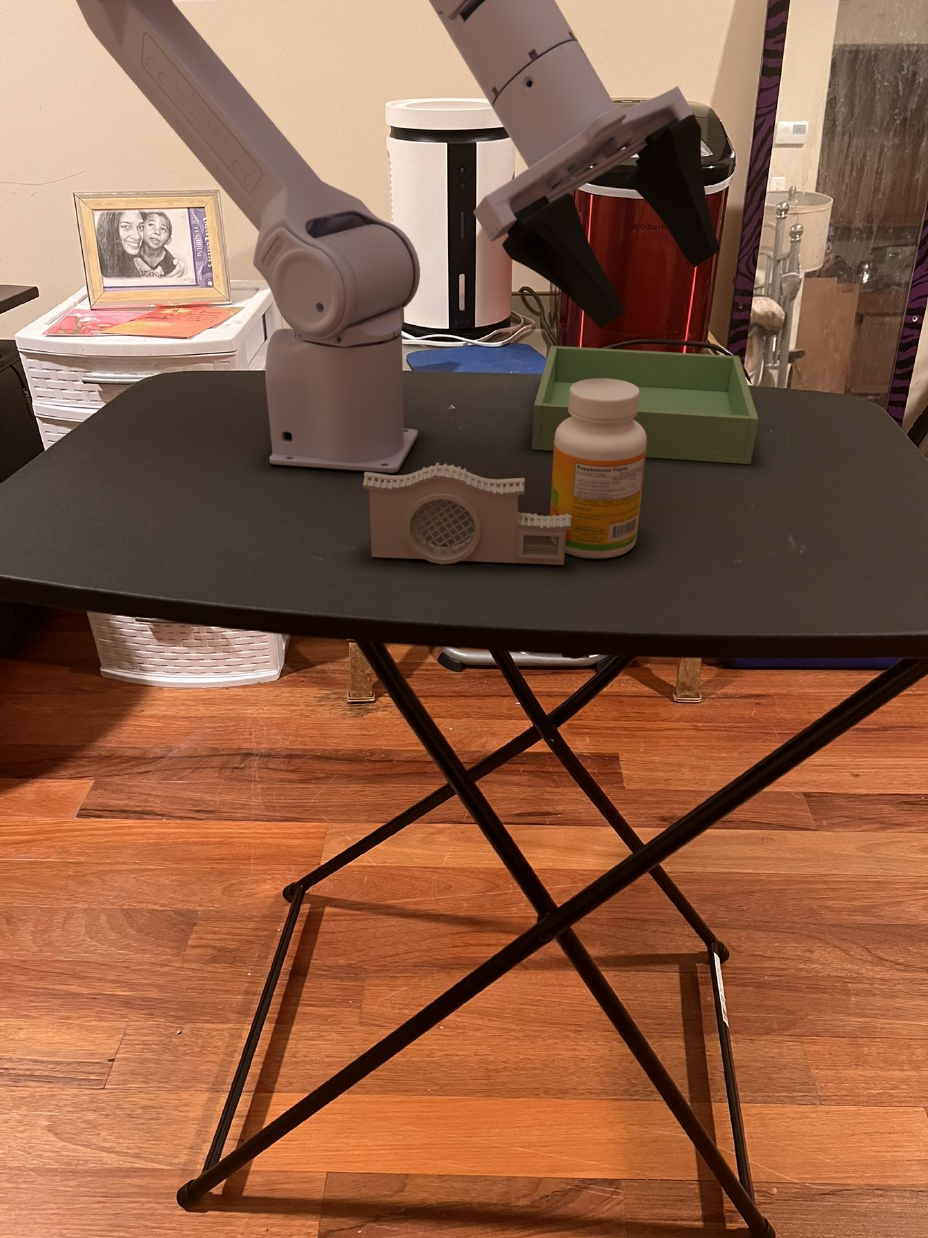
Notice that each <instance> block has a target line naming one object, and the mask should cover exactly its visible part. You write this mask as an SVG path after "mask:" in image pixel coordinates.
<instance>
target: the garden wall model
mask: <svg viewBox="0 0 928 1238" xmlns="http://www.w3.org/2000/svg"><path fill="white" fill-rule="evenodd" d="M363 472H364V473H363V482H362V489H367V490H368V498H369V500H368V502H369V522H370V524H369V525H370V546H371V547H370V548H371V549H370V550H371V557H372V558H389V559H411V560H412V559H414V560H425V561H427V562H430V563H434V564H438V565H451V564H456V563H459V562H480V563H481V562H482V563H484V562H485V563H507V564H533V565H558V566H564V565H565V554H566V553H565V541H566V529H570V528H571V515H568V513H566V514H565V515H562V514H560V515H559V516H555V515H553V516H550V514H548V515H546V516H545V515H543V514H541V515H538V514H537V513H533V514H532V513H530V512H528V513H526V512H519V510H518V509H519V495H525V480H526V478H524V477H516V478H515V477H514V478H503V479H502V478H499V479H496V478H495V479H494V478H485V477H482V476H479V475H478V474H477V475H476V474H474V473H472V472H469V471H467V468H463V469H462V467H461V466H455V464H451V465H448V464H447V463H444V464H443V465H442V464H441V465H440V462H436V463H435V465H430V466H428V467H425V466H423V467H422V469H420V470H417V471H415V472H411V473H408V474H401V475H390V474H383V473H379V472H371V471H363ZM440 500H441V501H440ZM449 501H450V502H451V503H450V502H449ZM433 502H435V503H436V504H435V505H433V504H432V503H433ZM443 503H445V504H446V506H445V507H443V506H442V504H443ZM454 505H456V507H454V508H453V506H454ZM426 506H429V507H430V508H429V509H427V510H426V509H425V507H426ZM437 507H439V508H440V510H439V511H437V510H436V508H437ZM447 509H449V511H448V512H446V510H447ZM458 509H459V510H460V512H459V513H458V514H457V513H456V512H455V511H457V510H458ZM420 510H422V511H423V512H422V513H420V514H419V513H418V512H419V511H420ZM431 511H432V512H433V513H434V514H433V515H432V514H431V516H430V515H429V512H431ZM467 512H468V514H469V515H467V514H466V513H467ZM441 513H443V515H442V516H440V514H441ZM451 514H453V515H454V516H453V517H451V518H450V516H449V515H451ZM414 515H416V517H415V518H414V517H413V516H414ZM462 515H463V516H464V518H463V519H460V516H462ZM423 516H427V518H426V519H424V520H423V519H422V517H423ZM435 517H437V519H436V520H434V519H433V518H435ZM445 518H446V519H447V520H446V521H444V520H443V519H445ZM470 519H472V520H473V522H472V521H471V520H470ZM417 520H419V521H420V523H418V524H417V525H416V523H415V521H417ZM454 520H457V523H454V522H453V521H454ZM428 521H430V522H431V523H429V524H428V525H427V524H426V523H427V522H428ZM466 521H467V522H468V523H469V524H467V526H465V524H464V522H466ZM438 522H440V523H441V524H440V525H439V526H437V524H436V523H438ZM449 523H450V524H451V527H449V528H448V526H447V525H448V524H449ZM422 525H423V526H424V527H422V528H421V529H419V527H421V526H422ZM431 526H433V527H434V529H432V530H430V528H431ZM458 526H461V527H462V528H461V529H460V530H459V529H458V528H457V527H458ZM443 527H444V529H445V530H444V531H443V532H442V531H441V530H440V529H441V528H443ZM469 528H472V529H473V531H471V532H469V531H468V529H469ZM453 529H454V530H455V531H456V532H455V533H454V534H453V533H452V532H451V531H452V530H453ZM425 530H426V531H427V533H426V534H425V535H423V533H422V532H424V531H425ZM435 532H437V533H438V535H436V536H435V535H434V533H435ZM463 532H465V533H466V535H465V536H463V535H462V533H463ZM447 533H448V534H449V537H447V538H446V536H444V535H445V534H447ZM428 536H430V537H431V539H429V540H427V539H426V538H427V537H428ZM457 536H459V537H460V539H458V540H457V539H456V537H457ZM551 536H552V537H554V536H555V537H557V539H555V537H554V539H553V538H552V537H551ZM440 537H441V538H442V539H443V540H442V541H441V542H439V541H438V540H437V539H438V538H440ZM467 538H468V539H467ZM550 538H551V539H550ZM450 540H453V541H454V543H452V544H450V543H449V541H450ZM552 540H556V542H555V541H552ZM462 541H463V542H462ZM433 542H435V544H436V545H435V544H433ZM461 542H462V543H461ZM553 542H554V543H555V544H553ZM445 543H446V545H447V546H442V545H444V544H445Z"/></svg>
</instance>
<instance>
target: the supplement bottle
mask: <svg viewBox="0 0 928 1238" xmlns="http://www.w3.org/2000/svg"><path fill="white" fill-rule="evenodd" d="M639 394H640V391H639V389H638V387H637V386H635V385H634V384H632V383H629V382H626V381H622V380H616V379H607V378H596V379H586V380H581V381H578V382H576V383H574V384H573V385H571V387H570V391H569V408H568V411H569V413H570V415H572V417H570V418H568V419H566V420H564V421H563V422H562V423H561V424H560V425H559V426H558V428H557V430H556V433H555V440H554V451H553V455H552V457H553V458H552V476H551V491H550V492H551V493H550V514H549V516H553V515H555V516H559V515H560V514H562V515H565V514H566V513H568V515H571V528H570V529H566V541H565V554H567V555H570V556H573V557H576V558H581V559H582V558H583V559H591V560H593V559H594V560H595V559H599V560H600V559H610V558H614V557H619V556H623V555H624V554H626V553H628V552H630V551H631V550H632V549H633V548H634V546H635V545H636V542H637V537H638V531H639V530H638V529H639V521H640V511H641V501H642V490H643V481H644V470H645V463H646V462H645V461H646V457H645V454H646V442H647V438H646V433H645V431H644V429H643V428H642V426H641V425H640V424H639V423H637V422H636V421H634V420H633V418H635V416H636V415H637V411H638V409H639ZM551 537H552V536H551ZM554 537H555V536H554ZM554 537H552V538H553V539H554ZM549 539H551V538H550V537H549ZM555 539H557V537H555ZM552 541H555V542H556V540H552ZM552 544H553V545H554V544H555V543H554V542H553V543H552Z"/></svg>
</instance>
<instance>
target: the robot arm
mask: <svg viewBox="0 0 928 1238" xmlns="http://www.w3.org/2000/svg"><path fill="white" fill-rule="evenodd" d="M75 2H76V4H77V6H78V8H79V10H80V12H81V14H82V16H83V18H84V21H85V23H86V24H87V26H88V28H89V29H90V31H91V33H92V34H93V35H94V37H95V38H96V40H97V41H98V42H99V43H100V45H101V46H102V47H103V48H104V49H105V50H106V52H107V53H108V54H109V55H110V56H111V57H112V58H113V60H114V61H115V62H116V64H117V65H118V66H119V67H120V68H121V69H122V70H123V72H124V73H125V74H126V75H127V76H128V78H129V79H130V80H131V81H132V83H134V85H135V86H136V87H137V88H138V90H139V91H141V93H142V94H143V96H144V97H145V98H146V99H147V101H148V102H149V103H150V104H151V105H152V107H154V109H155V110H156V111H157V112H158V113H159V115H160V116H161V117H162V118H163V119H164V120H165V122H166V123H167V124H168V126H169V127H170V128H171V129H172V130H173V132H174V133H175V134H176V135H177V136H178V138H180V140H181V141H182V142H183V143H184V145H186V147H187V148H188V149H189V150H190V152H191V153H192V154H193V155H194V156H195V157H196V159H197V160H198V161H199V162H200V163H201V165H202V166H203V167H204V168H205V170H206V171H207V172H208V173H209V174H210V175H211V177H213V179H214V180H215V181H216V183H217V184H218V185H219V186H220V187H221V189H222V190H223V191H224V192H225V193H226V194H227V195H228V197H229V198H230V199H231V200H232V201H233V203H234V204H235V205H236V207H238V209H239V210H240V211H241V212H242V214H243V215H244V216H245V217H246V218H247V220H249V222H250V223H251V224H252V226H253V227H254V228H255V229H256V231H258V235H257V239H256V244H255V248H254V254H253V260H252V264H253V266H254V267H255V269H256V270H257V271H258V272H259V273H260V275H261V276H262V277H263V279H264V280H265V282H266V283H267V285H268V287H269V289H270V292H271V293H272V297H273V299H274V302H275V305H276V307H277V310H278V311H279V313H280V315H281V317H282V318H283V320H284V321H285V322H286V324H287V325H288V326H289V328H279V329H276V330H275V331H274V332H273V333H272V335H271V337H270V339H269V341H268V344H267V349H266V353H265V354H266V355H265V367H264V370H265V371H264V372H265V373H264V374H265V375H264V377H265V378H264V379H265V390H266V399H267V409H268V411H267V412H268V419H269V420H268V421H269V430H270V431H269V432H270V442H271V451H272V452H271V455H270V456H269V463H270V464H271V465H276V466H277V465H278V466H291V467H302V468H303V467H305V468H317V469H319V468H320V469H321V468H322V469H333V470H347V471H361V472H371V473H386V474H387V473H388V474H394V473H398V472H399V470H400V469H401V467H402V465H403V463H405V462H404V461H405V460H406V459H407V456H408V455H409V452H410V451H411V449H412V447H413V446H414V443H415V442H416V440H417V438H418V437H419V432H418V430H417V429H414V428H405V413H404V411H405V410H404V407H405V406H404V363H403V358H404V357H403V333H402V331H403V324H405V308H407V306H408V305H410V303H412V301H413V299H414V297H415V296H416V294H417V292H418V289H419V286H420V280H421V266H420V260H419V256H418V252H417V250H416V248H415V245H414V244H413V243H412V241H411V240H410V238H409V237H408V235H407V234H406V233H405V232H404V231H403V230H401V228H399V227H398V226H396V225H394V224H393V223H390V222H388V221H385V220H383V219H381V218H379V217H378V216H376V215H375V214H374V213H373V212H372V211H371V210H370V209H369V207H367V205H366V204H365V203H364V202H363V201H362V199H360V198H358V197H356V196H354V195H352V194H350V193H348V192H346V191H343V190H342V189H339V188H336V186H335V187H334V186H333V185H330V184H329V183H326V182H325V181H323V180H322V179H321V177H319V176H318V174H317V173H316V172H315V171H314V169H313V168H312V167H311V166H310V164H308V162H307V161H306V160H305V159H304V158H303V156H302V155H301V154H300V153H299V152H298V150H297V149H296V148H295V147H294V145H293V144H292V143H291V141H289V139H287V137H286V136H285V134H283V132H282V131H281V130H280V129H279V128H278V126H277V125H276V124H275V122H273V120H272V119H271V118H270V117H269V116H268V114H267V113H266V111H264V110H263V108H262V107H261V106H260V105H259V104H258V103H257V101H256V100H255V99H254V98H253V96H252V95H251V94H250V93H249V92H248V91H247V89H246V88H245V87H244V85H242V83H241V82H240V81H239V80H238V78H237V77H236V76H235V75H234V74H233V73H232V71H231V70H230V69H229V67H227V65H226V64H225V63H224V62H223V60H222V59H221V58H220V57H219V56H218V54H217V53H216V52H215V51H214V49H213V48H212V47H211V46H210V45H209V44H208V42H207V41H206V39H204V38H203V37H202V35H201V34H200V33H199V32H198V30H197V29H196V28H195V27H194V25H192V23H191V22H190V21H189V19H188V18H187V17H186V16H185V15H184V14H183V12H181V10H180V9H179V7H178V6H177V5H176V4H175V2H174V1H173V0H75ZM428 2H429V3H430V6H431V7H432V8H433V10H434V12H435V14H436V16H437V17H438V19H439V21H440V22H441V24H442V25H443V27H444V29H445V30H446V32H447V33H448V36H449V38H450V40H451V41H452V43H453V45H454V46H455V48H456V50H457V51H458V53H459V55H460V57H461V58H462V60H463V61H464V63H465V64H466V66H467V68H468V69H469V72H470V73H471V74H472V76H473V78H474V79H475V81H476V84H478V86H479V88H480V89H481V91H482V93H483V95H484V96H485V98H486V99H487V102H488V103H489V104H490V106H491V108H492V109H493V112H494V113H495V115H496V117H497V118H498V120H499V121H500V123H501V125H502V127H503V128H504V130H505V131H506V132H507V135H508V136H509V138H510V139H511V141H512V143H513V145H514V146H515V148H516V150H517V151H518V153H519V155H520V157H521V158H522V160H523V162H524V163H525V165H526V166H527V169H525V170H523V171H522V172H521V173H519V174H518V175H517V176H515V177H514V178H512V179H510V180H509V181H508V182H506V183H504V184H502V185H501V186H500V187H498V188H496V189H495V190H493V191H492V192H490V193H488V194H487V195H485V196H484V197H483V198H482V199H481V201H480V202H479V204H478V205H477V206H476V207H475V209H474V210H473V215H474V216H475V219H476V220H477V221H478V223H479V225H480V226H481V228H482V229H483V231H484V233H485V234H486V236H487V238H488V239H489V241H490V242H491V243H493V242H494V241H496V240H498V239H499V238H501V237H503V236H504V235H506V234H507V235H508V236H507V237H506V239H505V240H504V241H503V242H502V244H501V246H502V248H503V250H504V251H505V253H506V254H507V255H508V257H509V258H510V259H511V260H512V261H514V262H517V263H519V264H521V266H524V267H526V268H528V269H530V270H531V271H533V272H534V273H537V274H538V275H539V276H541V277H542V278H544V279H545V280H546V281H548V282H550V283H551V284H552V285H553V286H555V287H556V288H557V289H558V290H560V291H561V292H562V293H563V294H564V295H566V296H567V297H568V298H569V299H570V300H571V301H572V302H573V303H574V304H575V305H576V306H578V307H579V308H580V309H581V310H582V311H583V313H585V315H587V317H588V318H590V320H591V321H592V322H593V323H594V324H595V325H596V326H597V327H598V328H599V329H600V330H602V329H603V328H605V327H606V326H608V325H609V324H610V323H612V322H613V321H615V320H616V319H618V318H619V317H620V316H621V315H623V314H624V313H625V310H624V307H623V304H622V302H621V300H620V297H619V295H618V293H617V291H616V290H615V288H614V285H613V284H612V283H611V281H610V279H609V278H608V276H607V274H606V272H605V270H604V269H603V267H602V266H601V264H600V262H599V260H598V259H597V257H596V255H595V252H594V250H593V248H592V246H591V244H590V241H589V239H588V236H587V234H586V232H585V229H584V227H583V223H582V221H581V218H580V215H579V212H578V209H577V205H576V203H575V199H574V195H573V194H571V193H573V192H575V191H576V190H578V189H580V188H581V187H583V186H584V185H586V184H588V183H589V182H590V183H591V181H593V180H595V179H596V178H598V177H600V176H602V175H603V174H605V173H607V172H608V171H610V170H612V169H613V168H615V167H617V166H619V165H620V164H622V163H623V162H625V161H627V160H628V159H630V158H632V157H634V156H635V155H637V159H635V162H634V163H635V164H636V165H637V166H636V167H635V168H634V169H633V170H632V171H631V172H630V173H629V174H628V175H627V176H626V178H625V182H626V183H627V184H628V185H629V186H630V187H631V188H632V189H633V190H635V191H636V192H637V193H638V195H640V196H641V198H642V199H643V200H645V202H647V204H648V205H649V206H650V207H651V209H652V210H653V211H654V212H655V213H656V215H657V216H658V217H659V218H660V220H661V221H662V222H663V224H664V225H665V228H666V229H667V230H668V233H669V234H670V236H671V237H672V239H673V240H674V242H675V244H676V245H677V247H678V249H679V250H680V252H681V254H682V255H683V256H684V258H685V259H686V260H687V261H688V262H689V264H690V265H691V266H692V267H693V269H695V268H697V267H698V266H700V265H702V264H703V263H704V262H706V261H707V260H709V259H711V257H713V256H714V255H715V254H717V253H719V252H720V251H721V247H720V243H719V240H718V237H717V233H716V231H715V227H714V226H715V225H714V223H713V219H712V215H711V211H710V207H709V203H708V198H707V194H706V188H705V181H704V173H703V163H702V127H701V125H700V123H699V121H698V119H697V117H696V116H695V114H694V112H693V110H692V109H691V107H690V105H689V103H688V102H687V99H686V98H685V96H684V94H683V93H682V91H681V89H680V88H679V86H675V87H673V88H671V89H670V90H667V91H665V92H664V93H661V94H659V95H657V96H654V97H652V98H650V99H647V100H644V101H642V102H639V103H637V104H634V105H632V106H629V107H627V108H623V107H622V105H621V104H618V105H616V104H615V103H614V101H613V99H612V97H611V96H610V94H609V92H608V90H607V89H606V87H605V85H604V84H603V82H602V81H601V79H600V76H599V75H598V73H597V72H596V69H595V68H594V66H593V65H592V62H591V60H590V59H589V57H588V56H587V54H586V52H585V50H584V49H583V47H582V45H581V43H580V42H579V40H578V38H577V36H576V35H575V33H574V31H573V29H572V28H571V26H570V24H569V22H568V20H567V19H566V17H565V16H564V14H563V12H562V11H561V9H560V6H559V5H558V3H557V2H556V0H428ZM602 159H604V160H602ZM601 160H602V161H601ZM599 161H600V162H599ZM598 162H599V163H598ZM596 163H597V164H596Z"/></svg>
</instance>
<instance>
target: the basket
mask: <svg viewBox="0 0 928 1238" xmlns="http://www.w3.org/2000/svg"><path fill="white" fill-rule="evenodd" d="M596 378H607V379H616V380H622V381H626V382H629V383H632V384H634V385H635V386H637V387H638V389H639V391H640V394H639V409H638V411H637V415H636V416H635V418H633V420H634V421H636V422H637V423H639V424H640V425H641V426H642V428H643V429H644V431H645V433H646V438H647V442H646V454H645V458H650V459H652V458H653V459H664V460H665V459H666V460H668V459H669V460H682V461H696V462H710V463H723V464H725V463H726V464H740V465H751V464H752V460H753V459H752V458H753V454H754V449H755V448H754V447H755V442H756V436H757V432H758V425H759V421H760V420H759V417H758V413H757V410H756V407H755V403H754V399H753V397H752V394H751V389H750V387H749V384H748V381H747V378H746V374H745V371H744V368H743V365H742V360H741V358H740V356H739V355H728V354H727V355H725V354H710V353H709V354H707V353H706V354H705V353H690V352H689V353H688V352H673V351H672V352H670V351H653V350H651V351H650V350H633V349H617V348H616V349H615V348H597V347H579V346H562V345H561V346H560V345H559V346H557V345H551V346H550V348H549V352H548V355H547V359H546V362H545V366H544V369H543V373H542V376H541V378H540V383H539V386H538V390H537V393H536V397H535V401H534V404H533V413H532V415H533V416H532V436H531V437H532V438H531V450H533V451H534V450H536V451H550V452H554V440H555V433H556V430H557V428H558V426H559V425H560V424H561V423H562V422H563V421H564V420H566V419H568V418H570V417H572V415H570V413H569V411H568V408H569V391H570V387H571V385H573V384H574V383H576V382H578V381H581V380H586V379H596Z"/></svg>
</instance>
